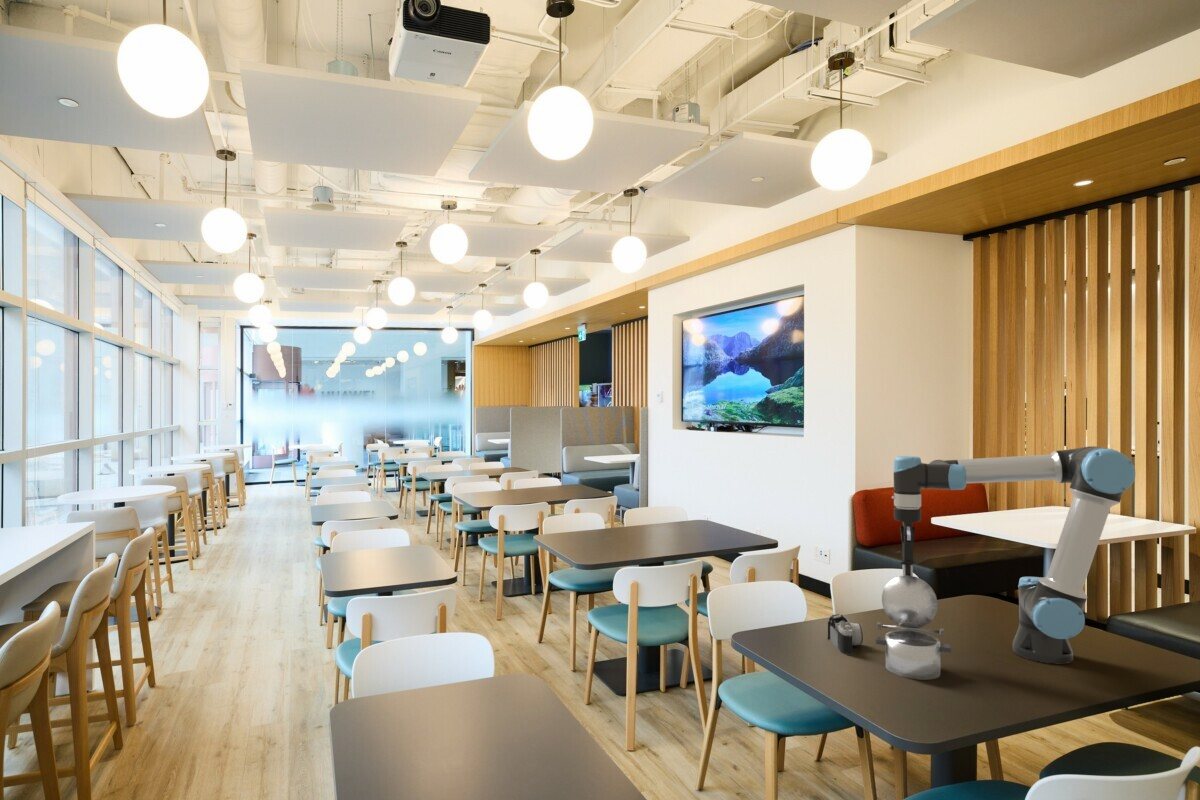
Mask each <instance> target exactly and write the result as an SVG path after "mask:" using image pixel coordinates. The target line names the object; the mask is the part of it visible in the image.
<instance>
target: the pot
mask: <svg viewBox="0 0 1200 800" xmlns="http://www.w3.org/2000/svg"><path fill="white" fill-rule="evenodd" d="M876 627H877V630H881V629H882V623H881V622H879V621H877V622H876ZM939 635H940V636H941V637H945V629H944V628H939ZM875 644H876V645H882V646H885V647H884V648H885V668H886V669H887V671H889V672H890V673H893V674H894V675H897V676H900V677H903V678H906V679H912V680H923V681H924V680H927V681H928V680H934V679H938V678H939V677H941V652H944V653H952V648H951V645H950V643H949V644H948V643H941V641H940V639H939V638H937V637H936V636H933V635H931V634H929V633H926V632H920V631H911V630H901V629H895V630H891V631H888V632H887V633H885V635H884V637H883V636H875Z"/></svg>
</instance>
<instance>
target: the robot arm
mask: <svg viewBox="0 0 1200 800" xmlns="http://www.w3.org/2000/svg"><path fill="white" fill-rule="evenodd" d="M1135 480H1136V468H1135V466H1134V464H1133V462H1132V460H1131V459H1130V458H1129V457H1128V456H1127V455H1125V454H1123V453H1122V452H1120V451H1119V450H1116V449H1113V448H1109V447H1100V446H1091V445H1090V446H1084V447H1076V448H1072V449H1071V448H1070V449H1063V450H1053V451H1052V452H1051V453H1050V454H1035V455H1018V456H1014V455H1013V456H1000V457H999V456H997V457H981V458H966V459H965V458H963V459H961V458H960V459H946V460H944V459H943V460H942V459H934V460H932V461H930V462H929V463H924V462H922V459H921V457H919V456H913V455H899V456H896V457H895V458H894V460H893V495H892V496H891V499H892V500H893V506H894V508H893V519H894V520H895V521H897V522H902V525H900V526H899V531H900V539H901V546H902V547H901V548H902V549H901V552H902V555H901V559H902V561H900V565H902V576H905V575H908V576H914V575H913V574H914V573H913V572H914V570H913V569H914V567H913V565H914V564H915V561H914V543H915V534H916V527H915V526H913V523H918V522H919V523H920V522H921V521H922V509H920V508H921V507H922V489H924V490H925V489H931V490H933V489H934V490H949V491H950V490H951V491H955V490H956V491H957V490H958V491H960V490H961V491H963V490H965V488H966V486H967V484H981V483H983V484H984V483H1006V482H1007V483H1010V482H1033V481H1034V482H1035V481H1055V483H1058V484H1063V483H1064V484H1068V483H1069V484H1070V485H1069V491H1070V492H1071V494H1072V496H1073V498H1072V500H1071V503H1070V507H1069V510H1068V512H1067V515H1066V518H1065V521H1064V524H1063V527H1062V530H1061V533H1060V535H1059V539H1058V542H1057V544H1056V548H1055V551H1054V554H1053V557H1052V560H1051V562H1050V566H1049V569H1048V572H1047V574H1046V576H1044V577H1041V576H1040V577H1039V576H1022V577H1020V578H1019V581H1018V585H1017V587H1018V588H1017V589H1018V619H1019V620H1018V621H1019V622H1018V628H1017V631H1016V633H1015V636H1014V638H1013V640H1012V652H1013V653H1014V654H1016V655H1018V656H1019V657H1021V658H1024V659H1026V660H1029V659H1030V661H1033V660H1034V661H1033V662H1037V661H1040V662H1039V663H1042V662H1047V663H1046V664H1049V663H1067V662H1071V661H1072V660H1073V661H1074V652H1073V649H1072V646H1071V643H1070V642H1069V639H1072V638H1074V637H1076V636H1077V635H1079V634H1080V633H1081V632H1082V631H1083V629H1084V627H1085V624H1086V622H1085V621H1086V620H1085V614H1084V611H1083V610H1084V609H1085V605H1086V603H1087V602H1086V601H1087V600H1088V596H1087V594H1086V593H1085V590H1084V587H1085V583H1086V580H1087V577H1088V574H1089V572H1090V569H1091V566H1092V563H1093V560H1094V557H1095V555H1096V552H1097V548H1098V545H1099V542H1100V540H1101V537H1102V535H1103V534H1102V533H1103V531H1104V528H1105V525H1106V522H1107V519H1108V516H1109V514H1110V510H1111V508H1112V507H1114V506H1116V505H1119V504H1120V502H1121V499H1122V497H1123V495H1124V492H1125V491H1126V490H1128V489H1129V488H1130V487H1132V485H1133V483H1134V482H1135ZM1073 661H1072V662H1073ZM1072 662H1071V663H1072Z"/></svg>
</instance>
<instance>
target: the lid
mask: <svg viewBox="0 0 1200 800" xmlns="http://www.w3.org/2000/svg"><path fill="white" fill-rule="evenodd" d="M881 604H882V608H883V610H884V613H885V614H886V616H888V619H890V620H891V621H892V622H894V623H895V624H897V625H898V626H897V625H888V624H881V629H882V628H883V629H892V630H893V629H894V630H907V631H916V632H921V633H931V634H940V629H939V630H937V629H929V628H928V629H927V628H923V627H925V626H927V625H928V624H930V623H931V622H932V621H933V619H934V618H935V617H936V615H937V612H938V599H937V595H936V593H935V591H934V589H933V588H932V587H931V586H930V584H928V583H927V582H926V581H925V580H923V579H921V578H919V577H917V576H914V575H913V576H908V575H905V576H903V575H900V576H896V577H893V578H892V579H891V580H889V581H888V582H887V583H886V585H885V586H884V588H883V590H882V593H881Z"/></svg>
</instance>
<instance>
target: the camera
mask: <svg viewBox="0 0 1200 800" xmlns="http://www.w3.org/2000/svg"><path fill="white" fill-rule="evenodd" d="M863 638H864V637H863V629H862V626H861V624H860V623H853V622H850V620H849V619H848V618H847V617H846V616H844V615H843V614H840V613H836V614H834V613H833V614H831V616H830V617H829V619H828V622H827V640H829V639H830V640H829V641H830V642H831V643H832V644H833V646H834V647H835V648H836V649H837V651H839V652H840V654H843V655H853V646H861V645H862V644H863Z"/></svg>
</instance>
